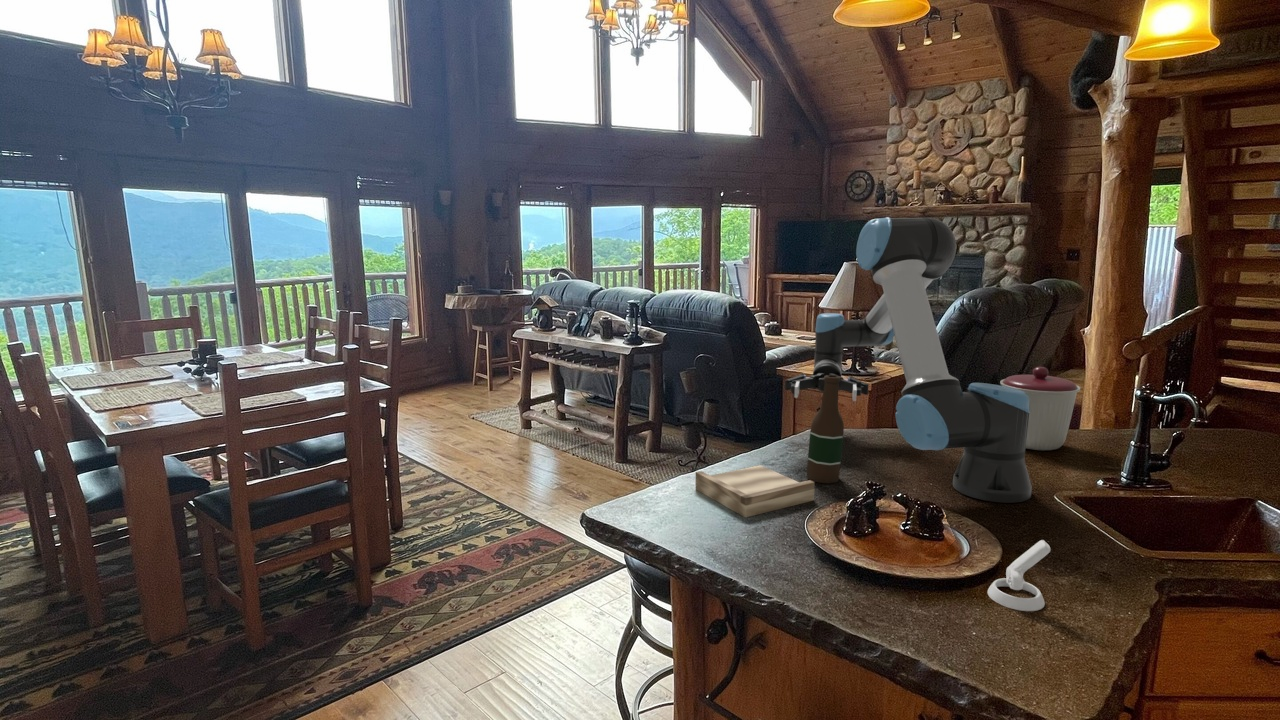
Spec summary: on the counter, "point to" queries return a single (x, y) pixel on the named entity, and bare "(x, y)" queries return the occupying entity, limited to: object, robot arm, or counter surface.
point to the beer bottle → (826, 436)
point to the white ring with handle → (1020, 581)
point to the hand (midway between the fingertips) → (825, 394)
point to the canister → (1046, 407)
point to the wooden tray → (754, 490)
